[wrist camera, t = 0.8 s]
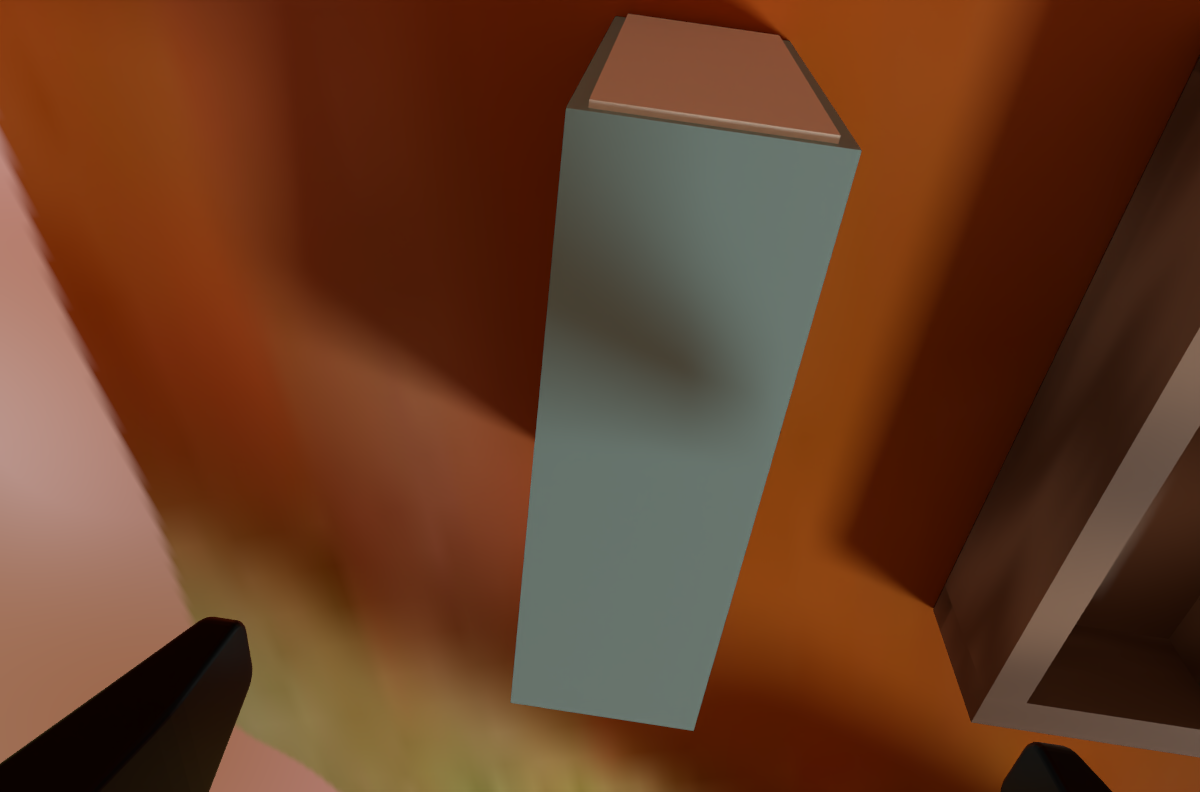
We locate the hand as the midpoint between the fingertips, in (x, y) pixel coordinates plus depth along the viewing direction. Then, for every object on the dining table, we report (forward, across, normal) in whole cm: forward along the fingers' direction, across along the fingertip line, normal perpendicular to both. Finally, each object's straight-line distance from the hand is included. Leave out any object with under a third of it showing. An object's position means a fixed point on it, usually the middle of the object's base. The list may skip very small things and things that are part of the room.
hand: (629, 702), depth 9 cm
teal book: (+12, 0, 0) cm, 12 cm away
